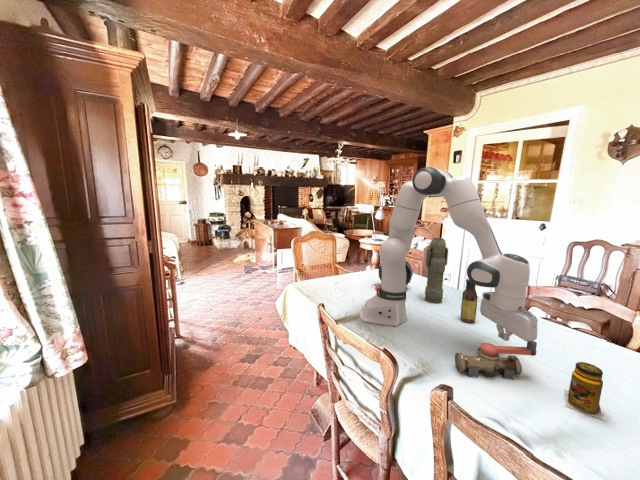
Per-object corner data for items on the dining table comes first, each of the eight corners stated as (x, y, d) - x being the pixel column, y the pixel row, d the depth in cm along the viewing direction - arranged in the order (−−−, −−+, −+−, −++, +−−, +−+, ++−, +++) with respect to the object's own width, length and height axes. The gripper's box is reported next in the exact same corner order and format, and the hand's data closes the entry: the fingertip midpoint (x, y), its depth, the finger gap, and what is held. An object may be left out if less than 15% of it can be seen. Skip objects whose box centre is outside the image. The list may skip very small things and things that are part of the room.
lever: (477, 347, 90) (479, 336, 89) (529, 350, 88) (531, 338, 88) (484, 355, 85) (486, 343, 85) (539, 358, 84) (541, 346, 83)
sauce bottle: (477, 324, 121) (482, 282, 118) (462, 322, 123) (466, 281, 119) (472, 317, 128) (476, 278, 124) (458, 316, 129) (462, 277, 126)
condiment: (565, 406, 74) (572, 367, 72) (564, 390, 81) (570, 353, 79) (603, 420, 70) (612, 379, 68) (598, 402, 76) (606, 363, 74)
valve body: (461, 376, 86) (464, 356, 85) (453, 364, 93) (455, 345, 91) (520, 380, 85) (523, 360, 84) (508, 367, 91) (511, 348, 90)
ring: (413, 291, 162) (415, 259, 159) (380, 291, 162) (381, 259, 159) (407, 285, 173) (409, 255, 169) (376, 285, 173) (377, 255, 170)
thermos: (448, 302, 146) (453, 239, 140) (430, 304, 142) (435, 240, 137) (436, 296, 154) (441, 236, 148) (419, 298, 151) (423, 237, 145)
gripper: (546, 314, 82) (539, 355, 84) (493, 290, 102) (489, 324, 104) (528, 315, 81) (521, 357, 83) (479, 291, 101) (474, 325, 103)
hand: (503, 338), depth 94 cm, fingers closed
